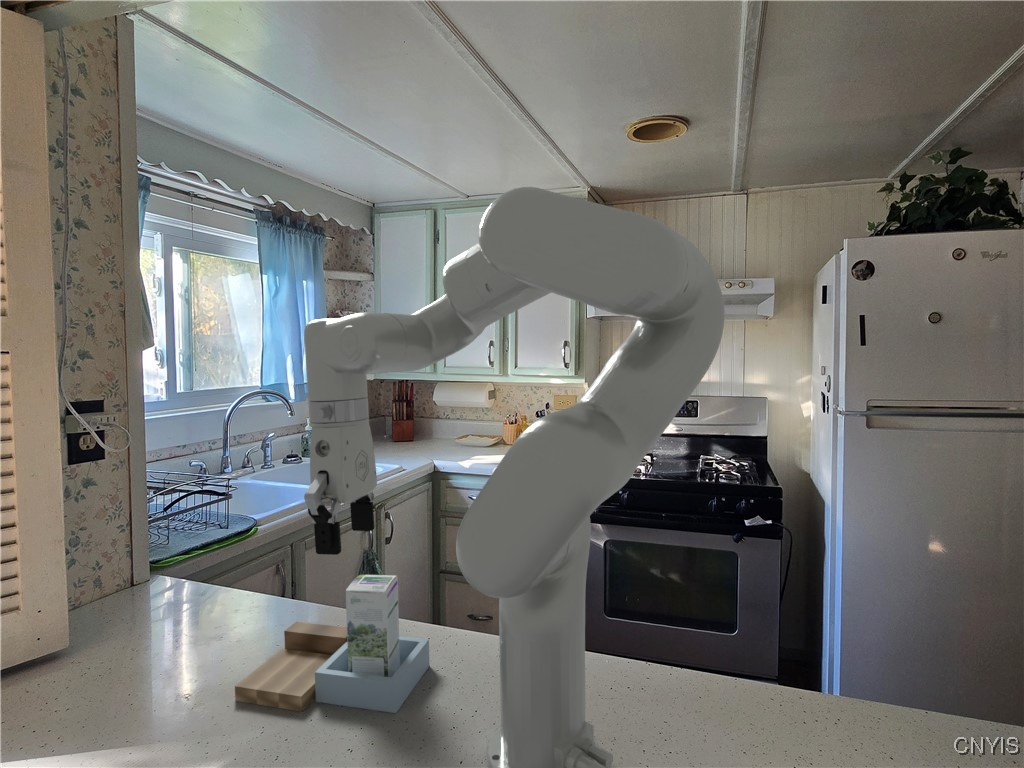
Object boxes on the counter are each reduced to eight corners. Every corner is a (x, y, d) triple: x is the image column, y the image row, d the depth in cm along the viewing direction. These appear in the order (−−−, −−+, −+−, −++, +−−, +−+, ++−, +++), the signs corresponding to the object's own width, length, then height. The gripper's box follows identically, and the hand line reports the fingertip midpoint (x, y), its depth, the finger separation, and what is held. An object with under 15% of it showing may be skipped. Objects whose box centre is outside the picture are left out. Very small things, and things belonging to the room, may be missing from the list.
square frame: (429, 665, 86) (428, 639, 86) (395, 713, 75) (395, 682, 75) (358, 657, 89) (357, 631, 89) (315, 701, 78) (314, 672, 78)
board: (343, 669, 85) (342, 656, 85) (301, 711, 76) (301, 696, 76) (282, 661, 88) (282, 648, 88) (235, 700, 78) (234, 686, 78)
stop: (356, 657, 89) (355, 628, 88) (346, 668, 86) (345, 638, 86) (297, 650, 91) (296, 621, 91) (285, 660, 88) (284, 630, 88)
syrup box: (401, 672, 85) (398, 573, 84) (389, 696, 79) (386, 590, 78) (362, 670, 85) (359, 572, 84) (347, 694, 79) (344, 589, 78)
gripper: (333, 420, 69) (342, 565, 69) (391, 406, 86) (398, 523, 86) (275, 421, 70) (284, 563, 71) (343, 407, 87) (350, 522, 88)
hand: (347, 541), depth 79 cm, fingers open, 9 cm apart
